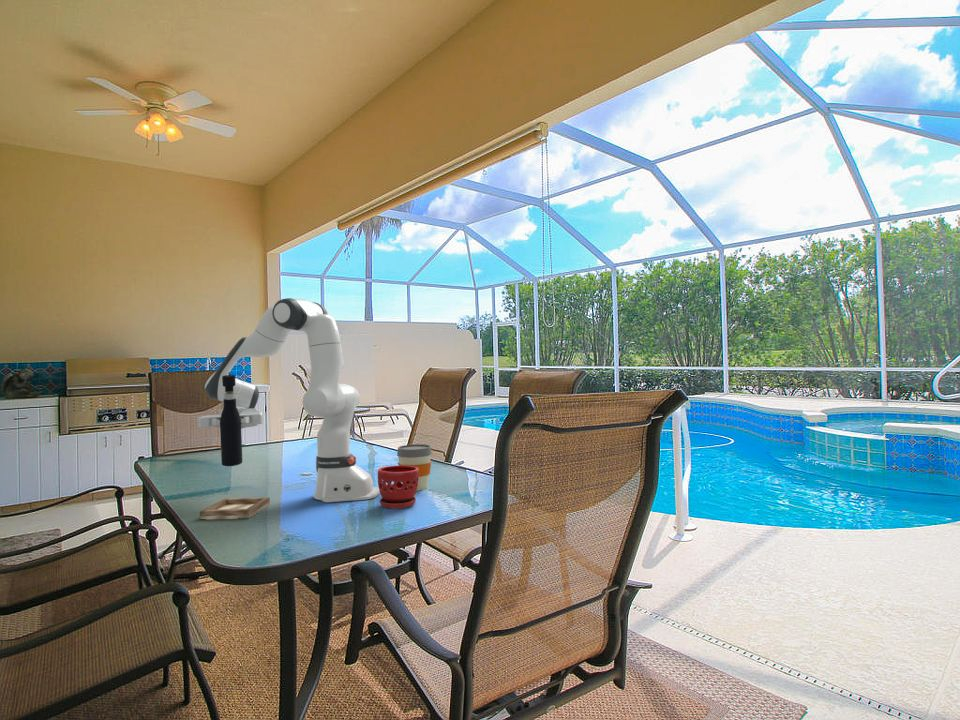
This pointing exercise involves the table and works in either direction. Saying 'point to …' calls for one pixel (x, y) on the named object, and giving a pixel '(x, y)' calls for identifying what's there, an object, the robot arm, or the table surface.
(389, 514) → the table surface
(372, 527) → the table surface
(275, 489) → the table surface
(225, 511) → the bottle coaster
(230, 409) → the wine bottle
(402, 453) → the reusable coffee cup
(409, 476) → the plant pot
